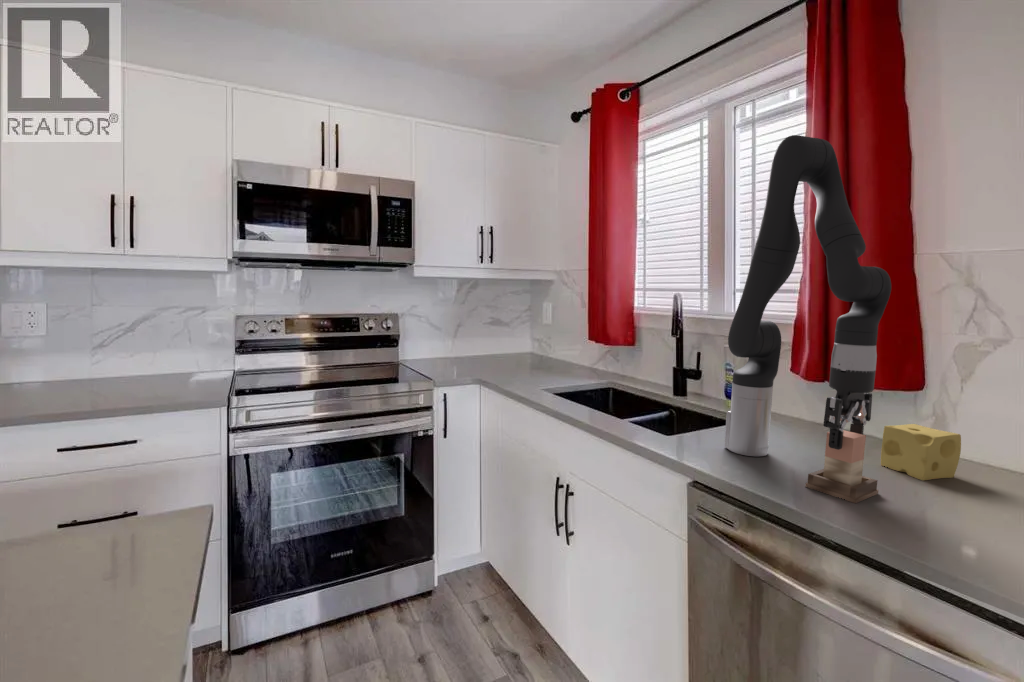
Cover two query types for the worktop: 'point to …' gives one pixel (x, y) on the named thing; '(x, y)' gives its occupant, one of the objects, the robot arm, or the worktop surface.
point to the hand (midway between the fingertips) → (845, 445)
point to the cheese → (920, 451)
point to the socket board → (842, 487)
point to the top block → (848, 447)
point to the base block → (843, 471)
